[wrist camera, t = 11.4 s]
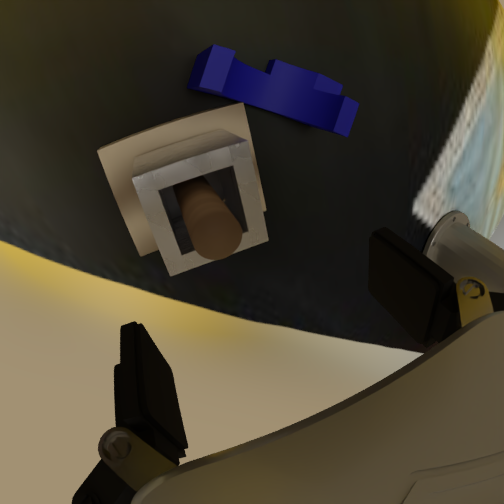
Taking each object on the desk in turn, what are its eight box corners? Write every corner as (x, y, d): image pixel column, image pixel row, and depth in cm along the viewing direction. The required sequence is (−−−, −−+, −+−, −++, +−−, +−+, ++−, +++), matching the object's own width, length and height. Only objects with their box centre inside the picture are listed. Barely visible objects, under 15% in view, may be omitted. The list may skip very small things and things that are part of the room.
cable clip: (324, 84, 25) (364, 87, 20) (310, 126, 27) (347, 137, 22) (203, 39, 20) (220, 24, 15) (186, 88, 22) (199, 86, 17)
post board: (260, 204, 29) (327, 271, 19) (140, 248, 27) (148, 341, 17) (237, 101, 24) (309, 112, 14) (99, 147, 22) (67, 192, 12)
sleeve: (241, 208, 26) (268, 240, 21) (162, 236, 25) (170, 276, 20) (222, 128, 22) (248, 140, 17) (134, 157, 21) (131, 178, 16)
